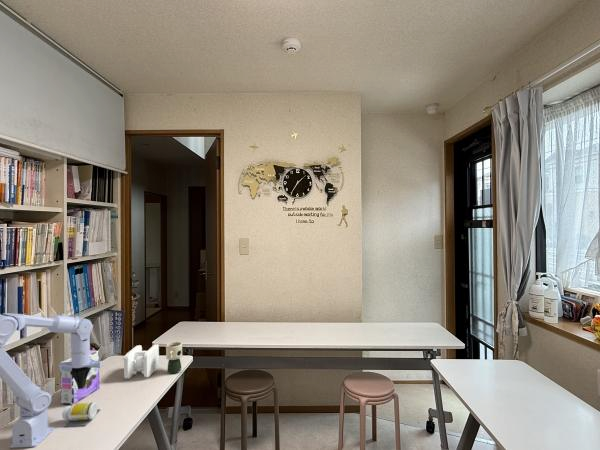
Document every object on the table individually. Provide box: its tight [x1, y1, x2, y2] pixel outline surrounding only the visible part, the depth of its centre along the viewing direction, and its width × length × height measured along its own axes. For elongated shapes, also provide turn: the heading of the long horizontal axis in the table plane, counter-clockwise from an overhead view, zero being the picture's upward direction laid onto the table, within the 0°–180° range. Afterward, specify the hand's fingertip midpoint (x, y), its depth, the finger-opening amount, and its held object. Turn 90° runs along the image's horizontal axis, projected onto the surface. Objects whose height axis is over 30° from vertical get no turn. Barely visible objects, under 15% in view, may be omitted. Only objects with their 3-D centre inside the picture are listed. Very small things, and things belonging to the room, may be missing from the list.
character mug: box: [165, 341, 183, 374], centre depth 163 cm, size 11×7×13 cm, turn 1°
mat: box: [64, 408, 101, 428], centre depth 125 cm, size 10×7×1 cm
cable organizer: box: [122, 343, 160, 379], centre depth 161 cm, size 15×11×12 cm
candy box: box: [59, 349, 100, 406], centre depth 141 cm, size 14×6×16 cm, turn 168°
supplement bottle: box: [61, 401, 98, 421], centre depth 123 cm, size 5×5×10 cm
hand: (81, 387), depth 127 cm, fingers closed
